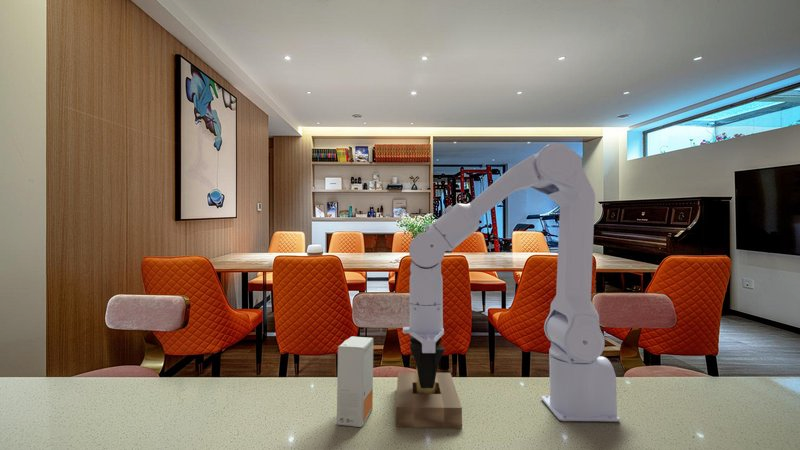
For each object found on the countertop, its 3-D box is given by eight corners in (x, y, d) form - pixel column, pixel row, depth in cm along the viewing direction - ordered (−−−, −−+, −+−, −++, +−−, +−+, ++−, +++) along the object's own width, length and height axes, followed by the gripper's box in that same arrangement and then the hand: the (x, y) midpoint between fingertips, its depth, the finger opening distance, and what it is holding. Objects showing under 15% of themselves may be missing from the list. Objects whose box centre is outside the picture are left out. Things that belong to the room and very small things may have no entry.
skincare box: (362, 428, 53) (363, 347, 54) (336, 425, 54) (336, 346, 55) (373, 409, 59) (374, 337, 60) (349, 407, 60) (350, 335, 60)
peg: (434, 390, 62) (434, 350, 62) (436, 399, 59) (436, 356, 59) (416, 390, 62) (416, 350, 62) (416, 398, 59) (416, 356, 59)
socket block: (450, 388, 67) (450, 372, 67) (462, 428, 53) (461, 407, 53) (397, 388, 68) (397, 372, 68) (395, 427, 54) (395, 407, 54)
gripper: (403, 295, 68) (403, 367, 68) (402, 311, 54) (402, 401, 53) (439, 295, 68) (440, 367, 68) (448, 311, 54) (449, 402, 53)
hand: (426, 382), depth 61 cm, fingers closed on peg, 3 cm apart
